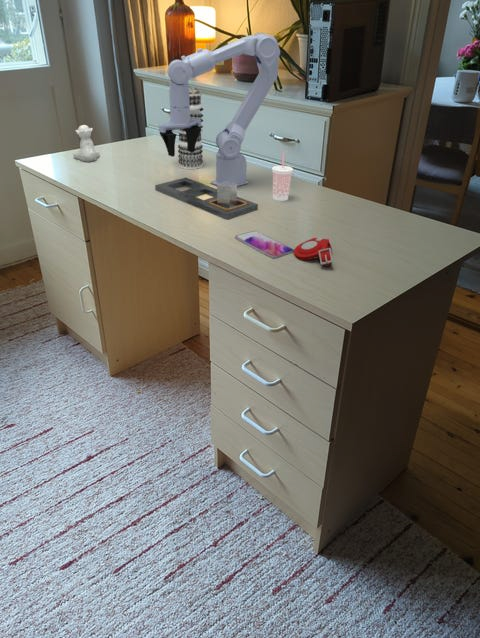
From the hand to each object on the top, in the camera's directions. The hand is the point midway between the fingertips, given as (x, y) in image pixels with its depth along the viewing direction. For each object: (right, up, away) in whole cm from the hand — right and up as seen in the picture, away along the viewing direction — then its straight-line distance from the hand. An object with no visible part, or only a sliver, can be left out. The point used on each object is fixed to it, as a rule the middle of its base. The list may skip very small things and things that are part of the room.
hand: (181, 153), depth 158 cm
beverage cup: (+30, -14, -2) cm, 33 cm away
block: (+14, -19, -11) cm, 26 cm away
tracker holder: (+35, -36, -36) cm, 62 cm away
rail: (+7, -15, -5) cm, 17 cm away
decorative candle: (+1, +3, +24) cm, 24 cm away
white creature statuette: (-36, +6, +27) cm, 46 cm away
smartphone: (+24, -33, -31) cm, 51 cm away
